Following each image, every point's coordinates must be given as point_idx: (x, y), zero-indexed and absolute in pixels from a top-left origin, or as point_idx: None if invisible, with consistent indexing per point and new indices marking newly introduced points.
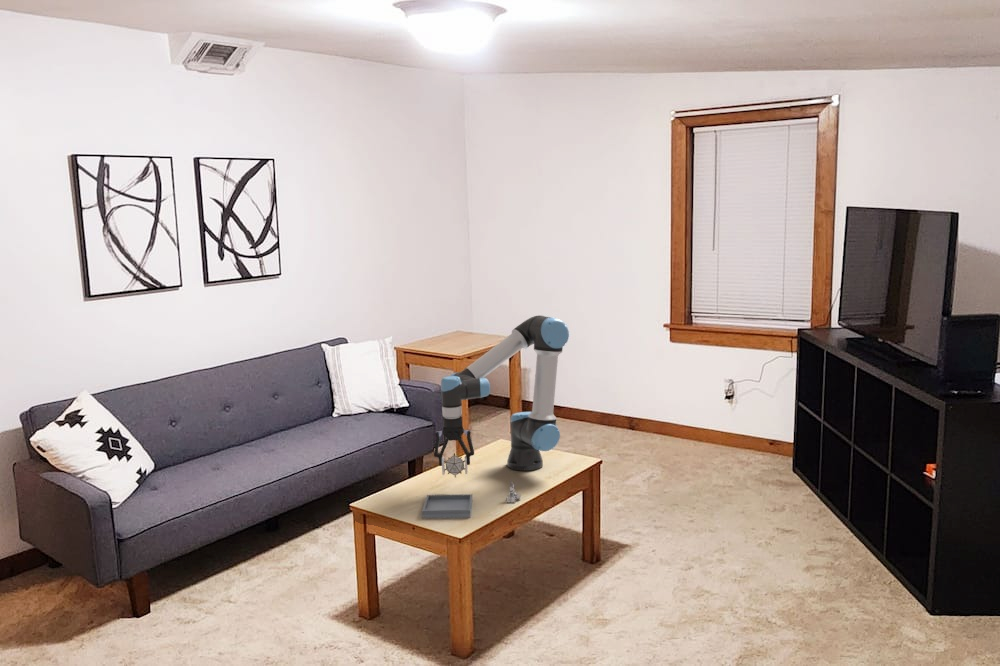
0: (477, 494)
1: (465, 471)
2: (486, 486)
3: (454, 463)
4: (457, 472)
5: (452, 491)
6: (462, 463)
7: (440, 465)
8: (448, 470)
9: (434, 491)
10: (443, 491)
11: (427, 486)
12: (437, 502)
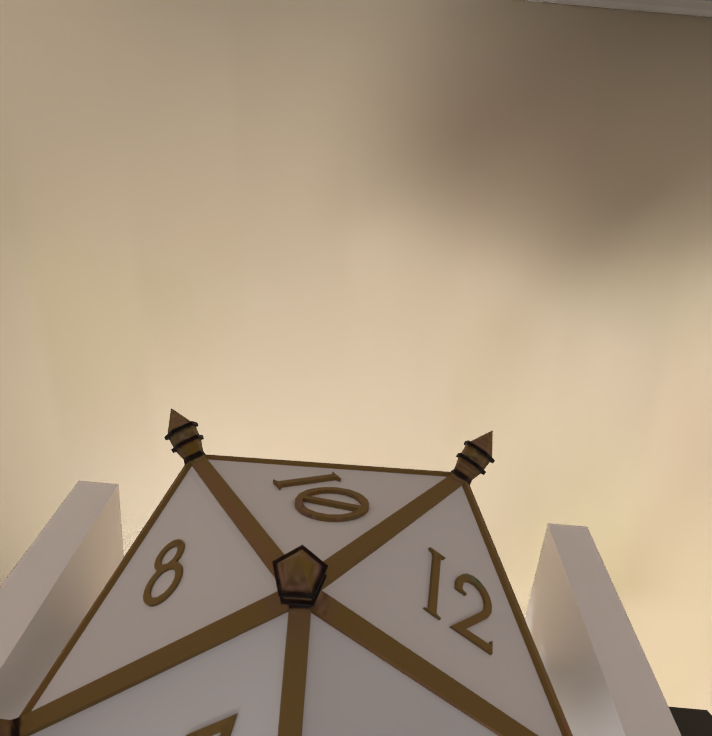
0: (69, 299)
1: (90, 514)
2: (7, 546)
3: (286, 567)
4: (262, 460)
5: (391, 449)
6: (65, 666)
7: (691, 718)
8: (478, 519)
9: (611, 480)
10: (501, 465)
11: (664, 638)
12: None
